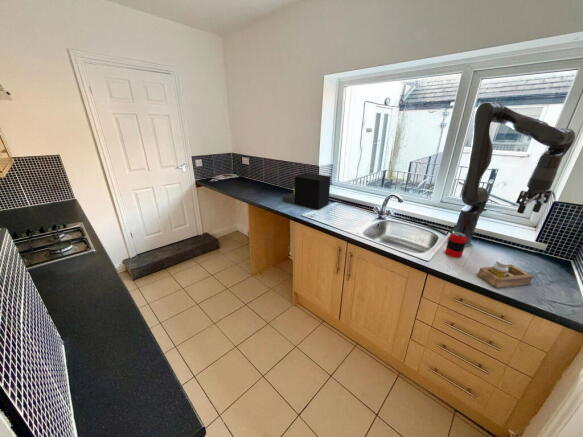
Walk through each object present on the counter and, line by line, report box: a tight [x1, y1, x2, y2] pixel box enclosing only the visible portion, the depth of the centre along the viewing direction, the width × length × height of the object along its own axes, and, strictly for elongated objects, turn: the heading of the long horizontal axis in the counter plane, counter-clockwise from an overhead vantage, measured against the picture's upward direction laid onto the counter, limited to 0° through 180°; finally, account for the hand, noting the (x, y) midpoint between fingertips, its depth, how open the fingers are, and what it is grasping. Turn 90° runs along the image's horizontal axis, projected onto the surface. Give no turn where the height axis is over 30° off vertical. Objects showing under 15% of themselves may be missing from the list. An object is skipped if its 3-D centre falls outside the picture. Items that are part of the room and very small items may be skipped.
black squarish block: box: [282, 172, 332, 211], centre depth 202 cm, size 18×35×24 cm, turn 55°
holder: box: [477, 264, 534, 289], centre depth 110 cm, size 10×17×4 cm, turn 100°
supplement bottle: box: [491, 259, 509, 278], centre depth 108 cm, size 5×5×10 cm
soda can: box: [444, 232, 467, 259], centre depth 128 cm, size 8×8×12 cm
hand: (527, 212), depth 111 cm, fingers open, 8 cm apart
